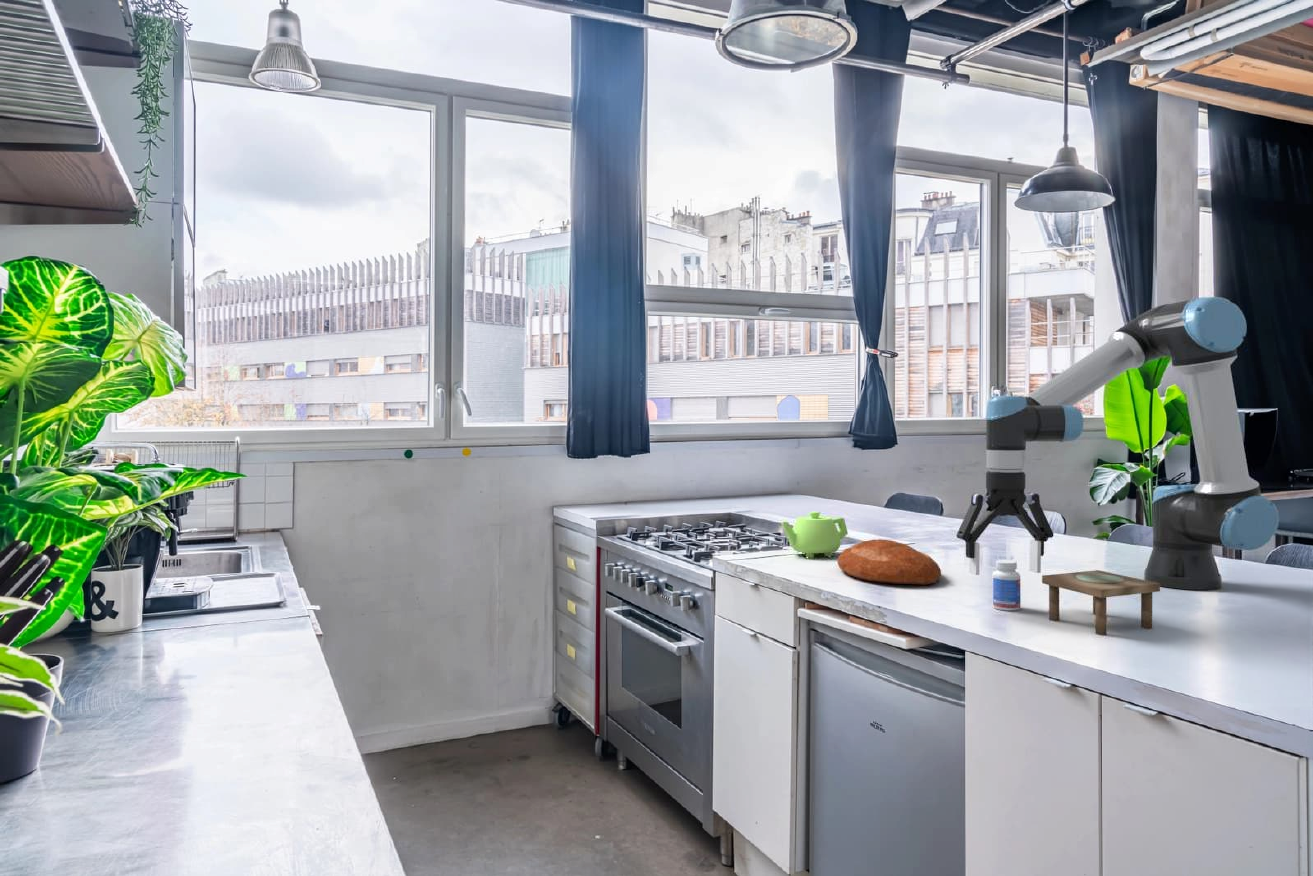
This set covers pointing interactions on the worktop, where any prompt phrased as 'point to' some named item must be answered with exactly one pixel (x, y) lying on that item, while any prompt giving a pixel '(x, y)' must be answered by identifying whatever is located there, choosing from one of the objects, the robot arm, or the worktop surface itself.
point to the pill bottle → (1006, 586)
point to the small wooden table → (1101, 593)
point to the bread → (888, 563)
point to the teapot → (816, 534)
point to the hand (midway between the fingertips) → (1004, 573)
